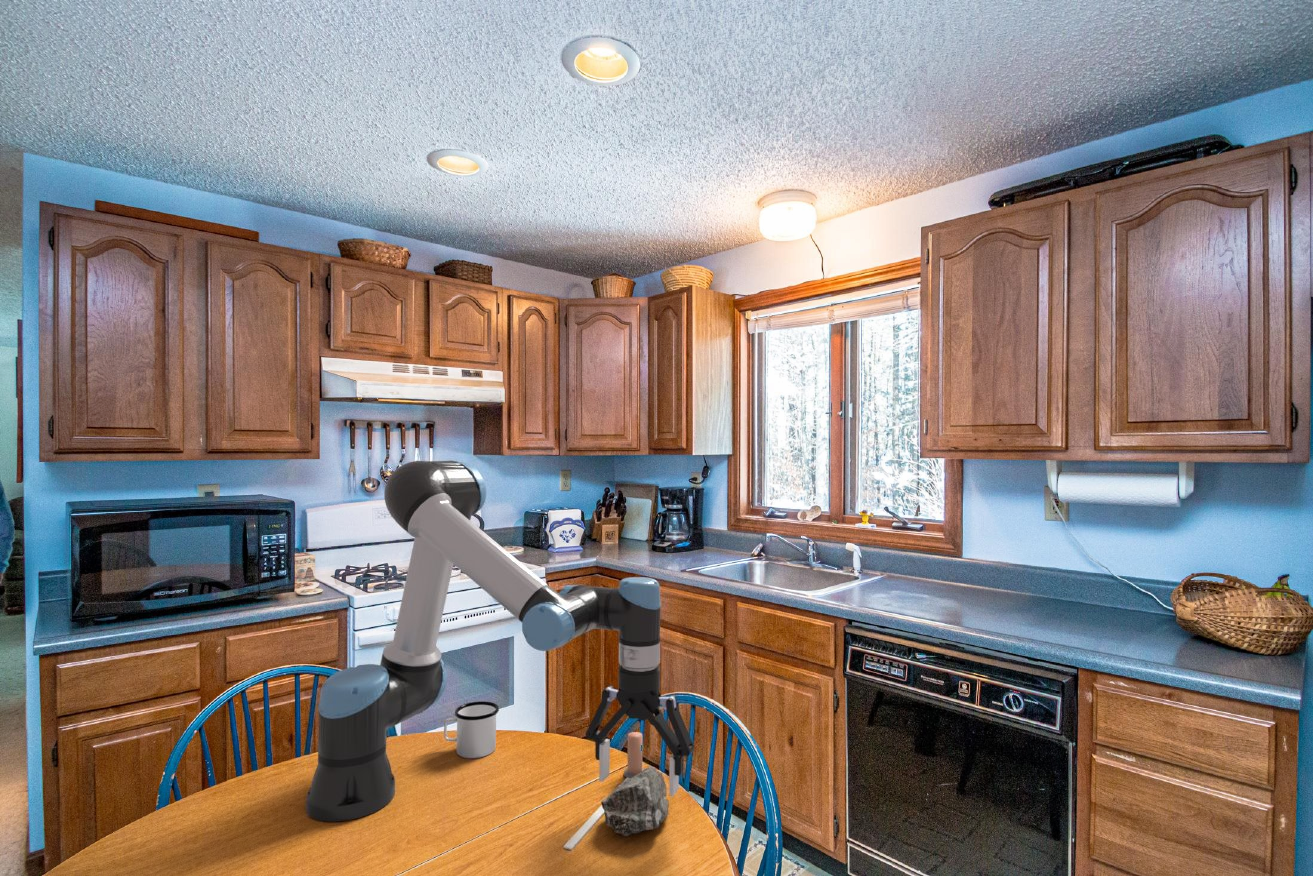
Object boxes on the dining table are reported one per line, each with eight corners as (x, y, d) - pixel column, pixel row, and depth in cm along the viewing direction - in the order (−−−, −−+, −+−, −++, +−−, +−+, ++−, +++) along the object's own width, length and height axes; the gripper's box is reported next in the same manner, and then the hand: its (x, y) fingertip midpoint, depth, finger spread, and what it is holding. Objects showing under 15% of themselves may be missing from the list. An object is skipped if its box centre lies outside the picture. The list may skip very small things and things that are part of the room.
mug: (503, 742, 147) (504, 701, 147) (490, 761, 137) (491, 718, 138) (452, 740, 148) (453, 700, 148) (435, 759, 138) (436, 716, 139)
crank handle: (556, 846, 107) (556, 796, 107) (629, 768, 135) (629, 729, 135) (579, 852, 105) (580, 802, 106) (648, 772, 133) (649, 732, 133)
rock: (671, 835, 106) (633, 786, 107) (627, 871, 107) (589, 822, 107) (677, 782, 124) (644, 740, 125) (639, 813, 125) (606, 771, 126)
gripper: (568, 662, 118) (566, 781, 117) (698, 680, 109) (698, 809, 108) (587, 652, 125) (586, 763, 124) (711, 667, 116) (711, 788, 115)
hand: (638, 785), depth 116 cm, fingers open, 13 cm apart
